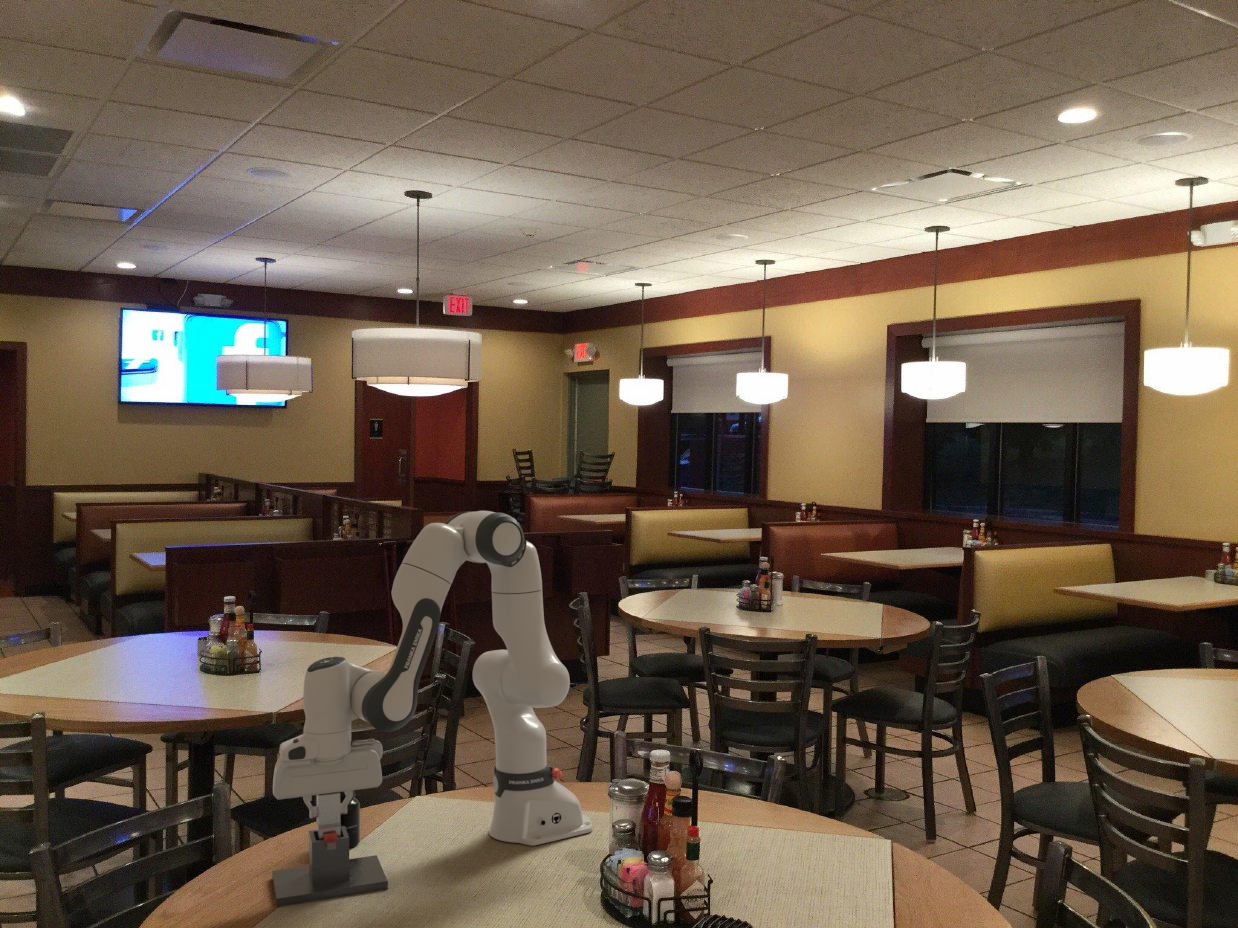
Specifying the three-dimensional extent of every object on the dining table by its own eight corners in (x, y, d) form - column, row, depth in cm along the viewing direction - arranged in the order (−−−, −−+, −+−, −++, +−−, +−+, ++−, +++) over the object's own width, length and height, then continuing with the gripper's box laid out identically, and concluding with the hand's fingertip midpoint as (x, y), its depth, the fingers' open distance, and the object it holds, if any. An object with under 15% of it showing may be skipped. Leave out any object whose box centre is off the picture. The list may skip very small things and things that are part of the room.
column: (338, 868, 199) (338, 786, 199) (341, 876, 195) (340, 793, 195) (317, 872, 197) (316, 789, 197) (319, 880, 193) (318, 795, 193)
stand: (376, 862, 206) (376, 810, 206) (387, 888, 193) (387, 833, 193) (272, 878, 199) (271, 824, 199) (276, 906, 186) (276, 849, 186)
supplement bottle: (351, 851, 212) (350, 793, 212) (320, 849, 214) (320, 792, 214) (365, 839, 219) (365, 783, 219) (336, 837, 221) (335, 782, 221)
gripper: (380, 733, 203) (380, 802, 203) (271, 745, 195) (272, 817, 195) (385, 741, 197) (385, 812, 197) (273, 753, 189) (274, 827, 189)
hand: (328, 815), depth 196 cm, fingers closed on column, 4 cm apart
